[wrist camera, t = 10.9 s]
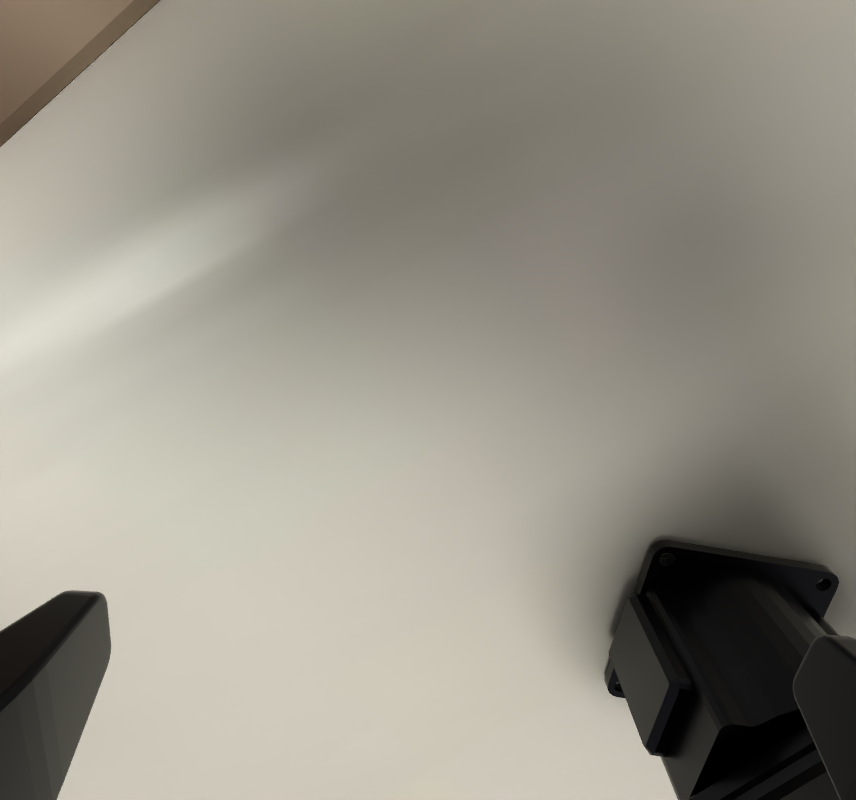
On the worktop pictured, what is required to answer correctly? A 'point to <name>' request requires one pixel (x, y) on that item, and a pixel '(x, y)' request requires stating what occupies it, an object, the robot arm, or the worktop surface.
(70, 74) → the shaft board
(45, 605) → the robot arm
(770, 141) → the worktop surface
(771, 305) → the worktop surface
